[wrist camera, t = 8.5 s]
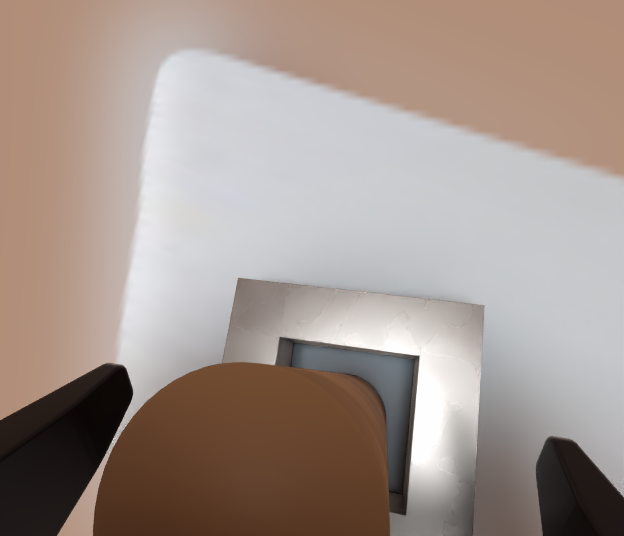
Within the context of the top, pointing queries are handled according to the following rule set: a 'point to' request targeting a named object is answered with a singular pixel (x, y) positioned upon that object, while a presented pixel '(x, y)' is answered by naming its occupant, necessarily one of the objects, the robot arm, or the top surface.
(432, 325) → the square hole frame
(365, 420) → the walnut pin
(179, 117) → the top surface
